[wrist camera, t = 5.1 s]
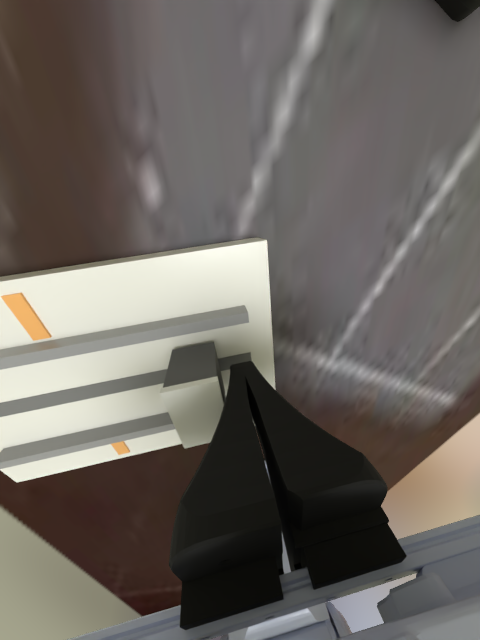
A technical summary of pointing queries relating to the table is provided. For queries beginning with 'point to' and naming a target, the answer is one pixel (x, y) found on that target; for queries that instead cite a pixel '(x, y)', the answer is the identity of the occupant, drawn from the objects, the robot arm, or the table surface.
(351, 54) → the table surface
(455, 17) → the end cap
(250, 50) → the table surface
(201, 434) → the fader tab
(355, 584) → the robot arm
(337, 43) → the table surface
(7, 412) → the console
